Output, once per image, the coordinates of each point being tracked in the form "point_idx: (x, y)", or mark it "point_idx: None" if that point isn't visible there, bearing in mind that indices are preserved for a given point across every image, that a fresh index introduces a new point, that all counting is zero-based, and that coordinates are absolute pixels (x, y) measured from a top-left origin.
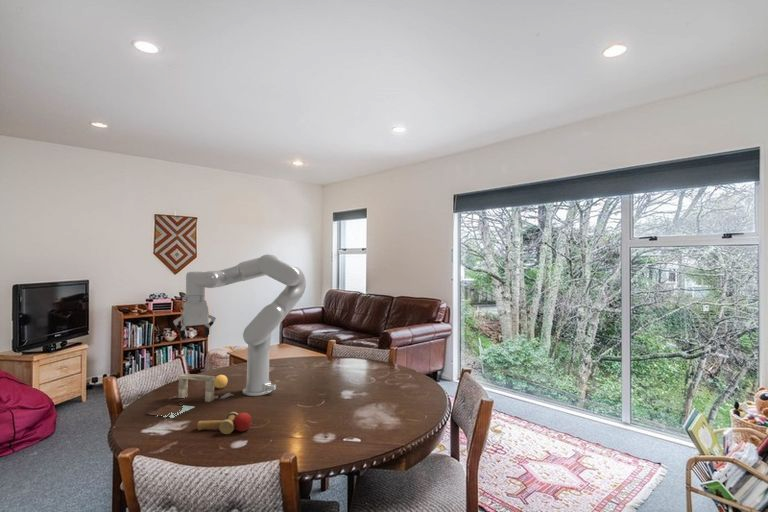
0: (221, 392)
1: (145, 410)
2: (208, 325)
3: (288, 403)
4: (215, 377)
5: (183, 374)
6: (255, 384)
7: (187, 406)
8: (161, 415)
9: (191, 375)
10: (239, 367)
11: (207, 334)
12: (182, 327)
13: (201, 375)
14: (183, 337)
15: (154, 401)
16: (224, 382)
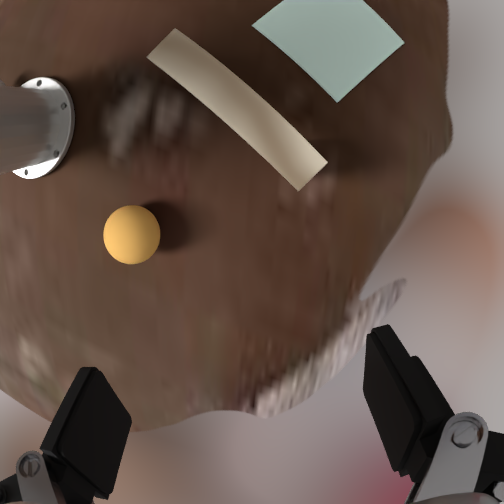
0: (139, 164)
1: (404, 83)
2: (29, 482)
3: (12, 5)
4: (145, 244)
5: (303, 172)
6: (25, 88)
7: (277, 38)
8: (358, 2)
9: (263, 125)
10: None
11: (78, 386)
12: (475, 457)
13: (209, 101)
14: (396, 339)
15: (379, 166)
16: (117, 209)
